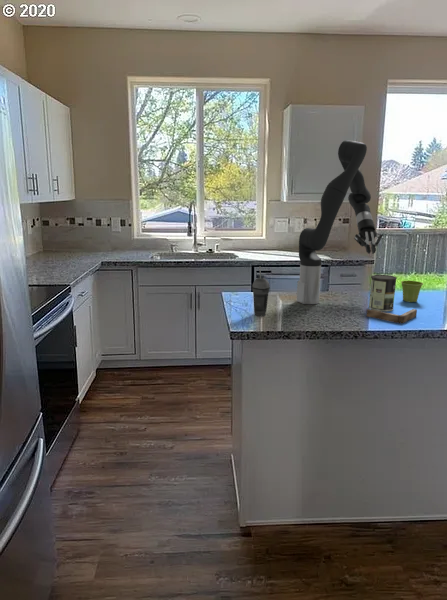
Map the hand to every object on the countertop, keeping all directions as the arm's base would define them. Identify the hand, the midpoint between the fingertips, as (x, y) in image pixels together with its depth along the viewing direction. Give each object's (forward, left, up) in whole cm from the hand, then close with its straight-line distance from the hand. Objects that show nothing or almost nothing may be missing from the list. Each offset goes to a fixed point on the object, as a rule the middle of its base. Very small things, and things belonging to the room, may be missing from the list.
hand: (371, 252), depth 208 cm
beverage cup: (-60, -7, -22) cm, 64 cm away
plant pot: (+16, -10, -22) cm, 29 cm away
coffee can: (-6, -16, -22) cm, 28 cm away
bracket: (-11, -31, -22) cm, 40 cm away
